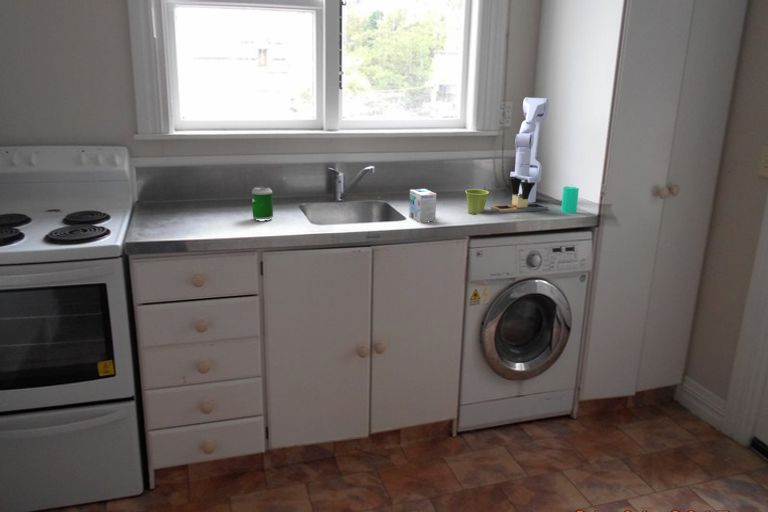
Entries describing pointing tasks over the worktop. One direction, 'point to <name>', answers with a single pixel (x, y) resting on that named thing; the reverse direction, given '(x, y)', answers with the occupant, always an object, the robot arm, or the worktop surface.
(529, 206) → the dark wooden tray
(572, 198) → the candle
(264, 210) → the soda can
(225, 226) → the worktop surface
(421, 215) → the light bulb box
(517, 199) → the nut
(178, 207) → the worktop surface
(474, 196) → the plant pot
